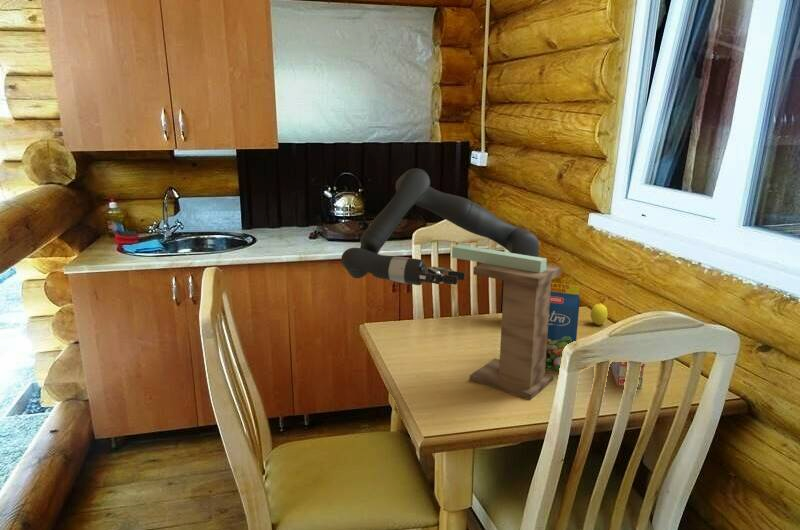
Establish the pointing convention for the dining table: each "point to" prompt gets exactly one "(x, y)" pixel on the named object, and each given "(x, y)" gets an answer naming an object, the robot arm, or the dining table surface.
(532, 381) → the walnut stand
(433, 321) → the dining table surface
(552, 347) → the blue food package
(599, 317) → the lemon
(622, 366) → the stack of blocks
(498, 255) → the sage bar
